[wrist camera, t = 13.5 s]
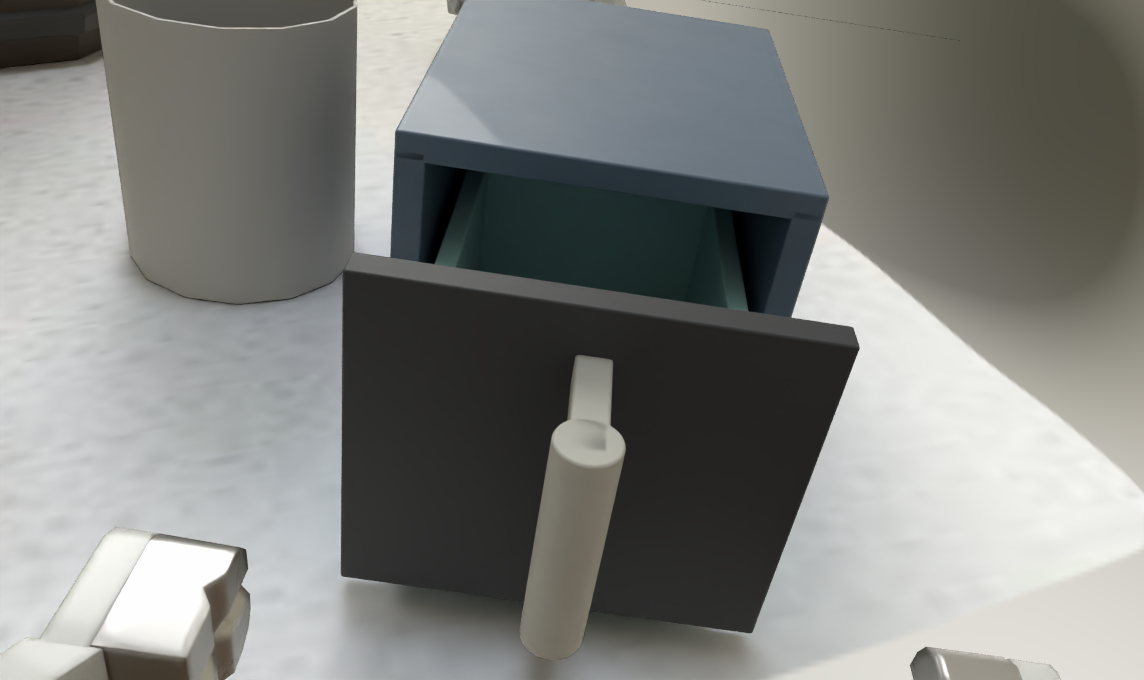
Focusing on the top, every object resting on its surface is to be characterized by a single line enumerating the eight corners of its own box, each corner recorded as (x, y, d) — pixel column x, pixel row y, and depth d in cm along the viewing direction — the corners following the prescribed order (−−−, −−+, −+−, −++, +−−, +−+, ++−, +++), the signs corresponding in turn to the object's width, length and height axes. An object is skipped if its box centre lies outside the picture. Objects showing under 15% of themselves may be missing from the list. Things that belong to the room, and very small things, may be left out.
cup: (354, 305, 36) (358, 39, 30) (114, 302, 34) (70, 17, 29) (352, 198, 43) (355, -36, 37) (151, 191, 41) (122, -58, 35)
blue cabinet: (733, 498, 30) (830, 197, 24) (382, 447, 30) (395, 129, 24) (707, 271, 42) (769, 28, 36) (454, 233, 42) (474, -19, 36)
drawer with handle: (766, 756, 22) (897, 459, 17) (302, 693, 22) (292, 370, 17) (717, 336, 36) (781, 104, 31) (433, 294, 36) (450, 52, 31)
